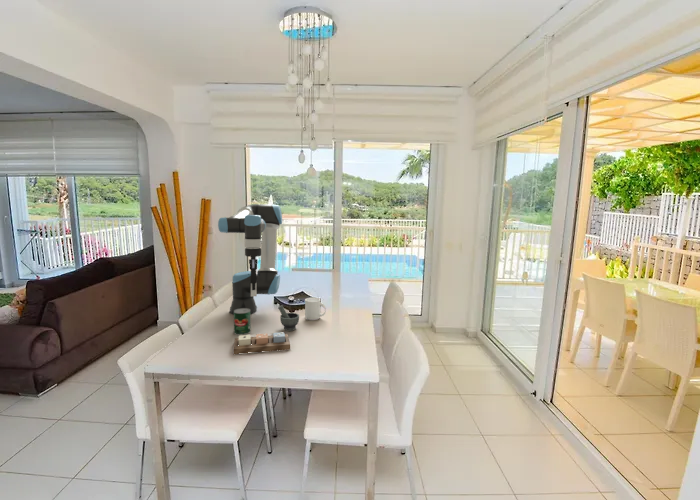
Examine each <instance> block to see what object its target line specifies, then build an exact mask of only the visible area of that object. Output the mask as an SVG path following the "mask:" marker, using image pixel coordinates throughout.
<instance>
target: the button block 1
mask: <svg viewBox="0 0 700 500" xmlns="http://www.w3.org/2000/svg"><path fill="white" fill-rule="evenodd" d="M251 337H252V336H251V334H244V335H238V338H239V346H243V345H251Z"/></svg>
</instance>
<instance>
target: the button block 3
mask: <svg viewBox="0 0 700 500" xmlns="http://www.w3.org/2000/svg"><path fill="white" fill-rule="evenodd" d="M272 335H273V342H274V343H279V342H285V332H284V331H283V332H282V331H281V332H273V333H272Z"/></svg>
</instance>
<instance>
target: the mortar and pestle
mask: <svg viewBox="0 0 700 500" xmlns="http://www.w3.org/2000/svg"><path fill="white" fill-rule="evenodd" d="M277 309H278V311H280V314H281V315H280V316H279V317H280V324H281V325H282V326H283V330H284V331H288V332H291V331H292V332H293V331H294V330H296V329H297V325H298V324H299V322H300V314H298V313H296V312H287V311H286V309H285V307H284V305H283V304H282V305H279V306H278V307H277Z"/></svg>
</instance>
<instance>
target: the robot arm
mask: <svg viewBox="0 0 700 500" xmlns="http://www.w3.org/2000/svg"><path fill="white" fill-rule="evenodd" d="M282 224H283V214H282V208H281V206H280V205H278V204H263V203H262V204H261V203H260V204H258V203H257V204H256V203H253V204H248V205H246V206H243V207H241V208H239V209H238V211H237V212H236V213H235V214H233V215H230V217H226V216H224V217H220V218H219V219H218V222H217V228H218V231H219V233H225V234H232V233H233V234H234V233H235V234H244V247H245V248H244V256H245V257H250V258H249V259H248V264H249V270H247V271H240V272H236V273H234V274H233V275H232V280H231V283H232V287H231V288H232V301H231V303H230V304H231V305H230V308H229V313H230V314H231V315H234V310H236V309H240V308H248V309H250V315H251V314H254V313H256V312H257V310H258V309H257V308H258V307H257V305H256V301H255V298H254V297H257V296H258V295H276V294H277V293H278V291H279V287H280V284H281V283H280V281H281V275H280V274H279V271H278V270H277V269H276V260H277V259H276V258H277V257H276V255H277V253H276V252H277V237H278V236H277V235H278V234H277V233H278V232H277V230H278V229H279V228H280V225H282ZM257 257H260V266H259V267H260V268H259V269H258V258H257Z"/></svg>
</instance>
